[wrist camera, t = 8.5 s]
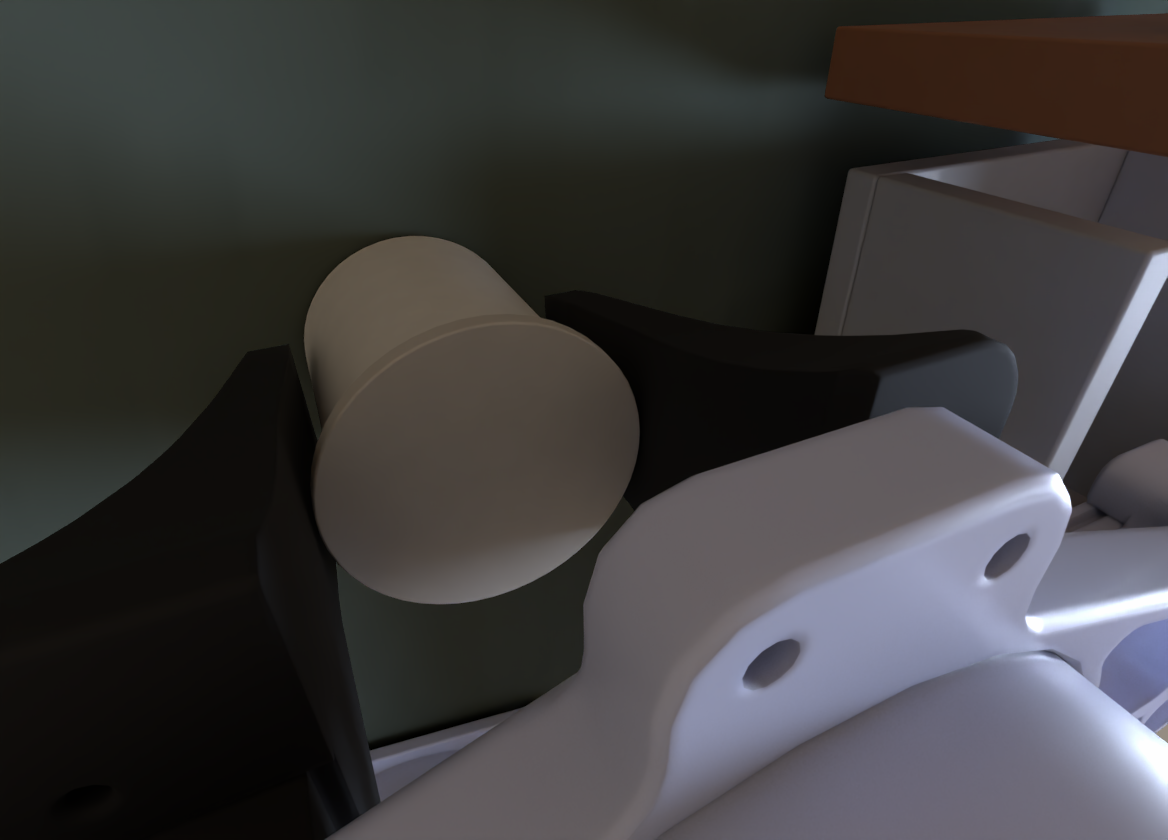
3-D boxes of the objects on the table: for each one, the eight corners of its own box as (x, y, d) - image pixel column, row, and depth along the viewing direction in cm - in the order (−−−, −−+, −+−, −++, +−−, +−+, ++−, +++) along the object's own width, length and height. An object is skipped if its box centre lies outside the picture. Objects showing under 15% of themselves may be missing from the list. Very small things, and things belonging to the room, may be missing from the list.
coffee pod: (289, 447, 13) (315, 633, 9) (279, 205, 10) (308, 321, 7) (512, 431, 15) (606, 576, 11) (542, 227, 12) (673, 322, 9)
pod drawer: (906, -377, 9) (1640, -778, 4) (1292, -280, 13) (1928, -443, 8) (747, 527, 19) (924, 707, 14) (992, 438, 22) (1200, 558, 18)
